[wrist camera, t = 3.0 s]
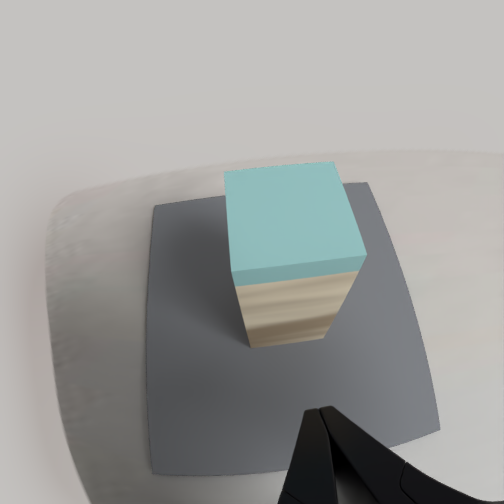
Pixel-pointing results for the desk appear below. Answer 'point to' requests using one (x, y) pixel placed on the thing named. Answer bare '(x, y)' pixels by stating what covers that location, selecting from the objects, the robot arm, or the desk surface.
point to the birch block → (291, 249)
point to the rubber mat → (271, 352)
